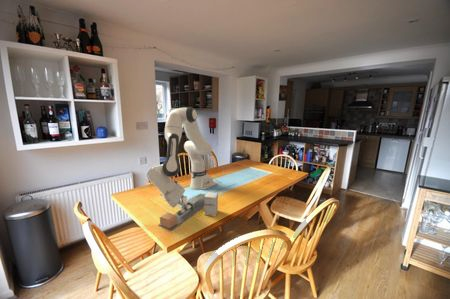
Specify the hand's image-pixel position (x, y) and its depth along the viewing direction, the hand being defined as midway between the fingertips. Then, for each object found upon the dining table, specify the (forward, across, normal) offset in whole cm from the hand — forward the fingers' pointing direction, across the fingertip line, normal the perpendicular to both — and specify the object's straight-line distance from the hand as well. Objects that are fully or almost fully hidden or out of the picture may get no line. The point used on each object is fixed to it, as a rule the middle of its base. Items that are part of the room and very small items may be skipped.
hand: (185, 203), depth 122 cm
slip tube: (+5, +5, +3) cm, 8 cm away
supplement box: (+17, +3, -6) cm, 18 cm away
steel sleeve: (+9, +11, +1) cm, 14 cm away
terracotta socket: (0, -12, +10) cm, 15 cm away
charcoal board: (+6, +2, +5) cm, 8 cm away
